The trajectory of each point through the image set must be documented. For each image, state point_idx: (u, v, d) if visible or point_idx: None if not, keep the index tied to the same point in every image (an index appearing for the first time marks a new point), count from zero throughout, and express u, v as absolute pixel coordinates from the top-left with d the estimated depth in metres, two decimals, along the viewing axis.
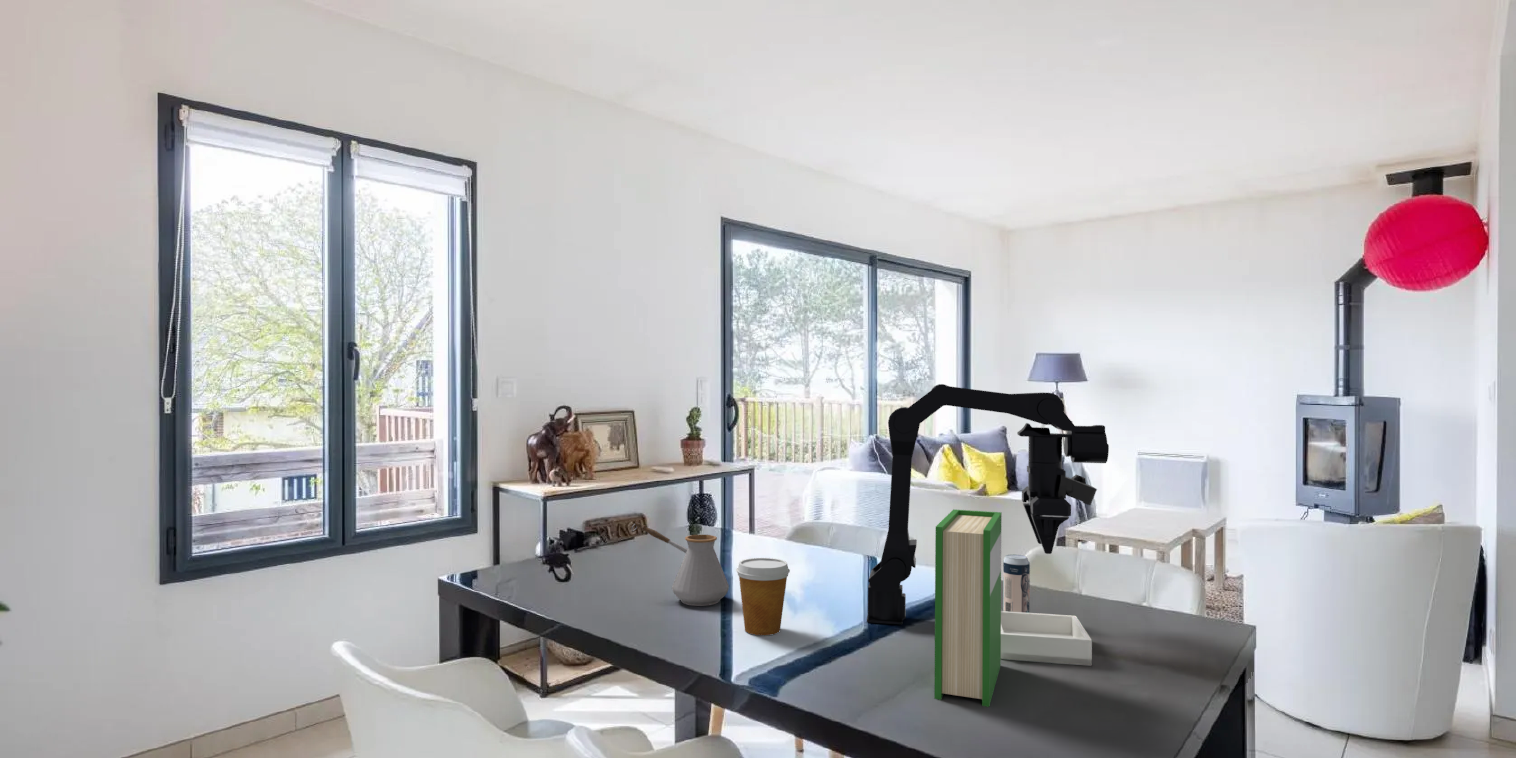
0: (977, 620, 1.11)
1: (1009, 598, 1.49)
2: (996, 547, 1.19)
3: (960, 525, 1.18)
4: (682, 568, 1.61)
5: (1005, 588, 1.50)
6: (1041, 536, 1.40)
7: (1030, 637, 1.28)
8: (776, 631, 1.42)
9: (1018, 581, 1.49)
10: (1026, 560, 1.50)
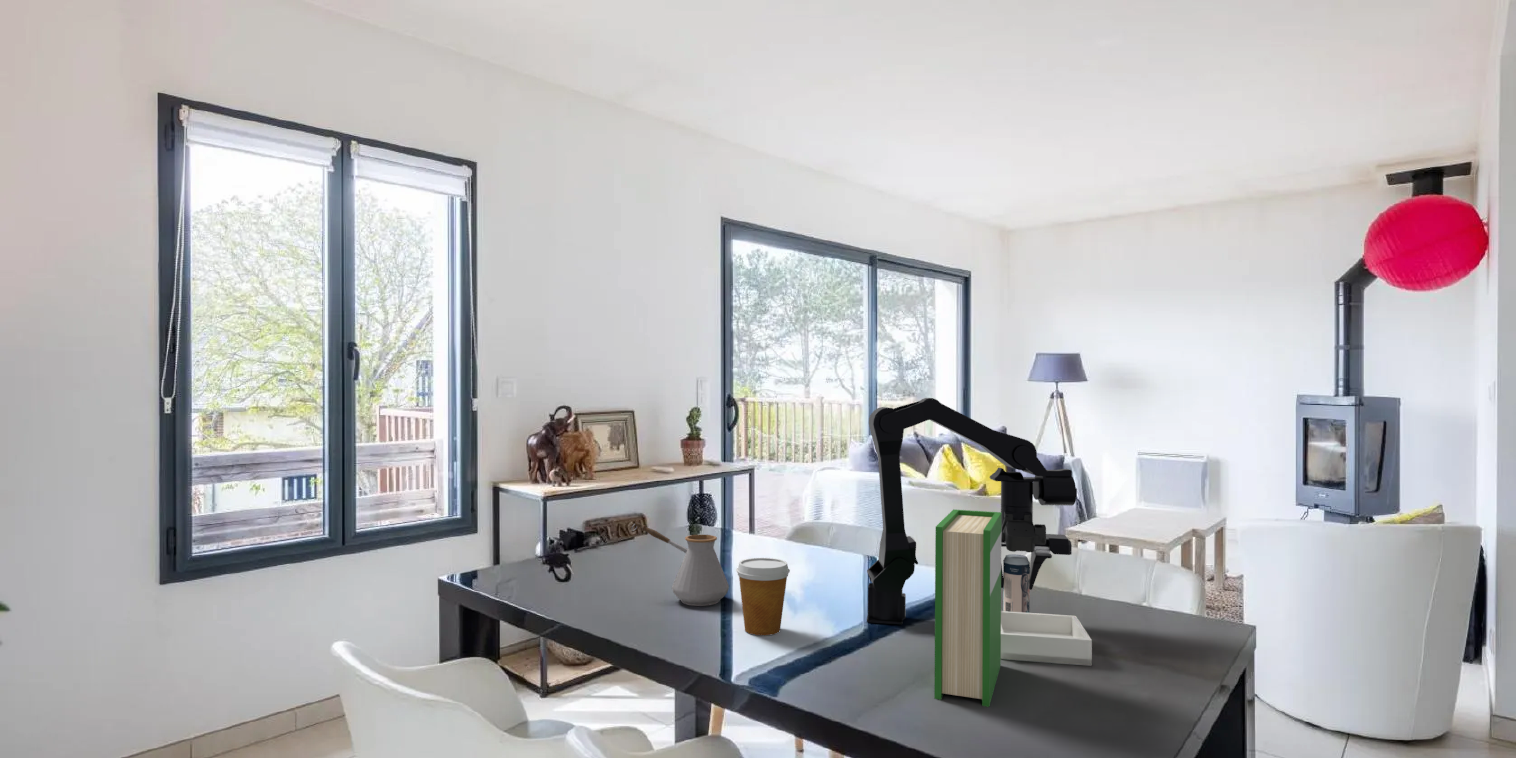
0: (977, 620, 1.11)
1: (1009, 598, 1.49)
2: (996, 547, 1.19)
3: (960, 525, 1.18)
4: (682, 568, 1.61)
5: (1005, 588, 1.50)
6: None
7: (1030, 637, 1.28)
8: (776, 631, 1.42)
9: (1019, 581, 1.49)
10: (1026, 560, 1.50)
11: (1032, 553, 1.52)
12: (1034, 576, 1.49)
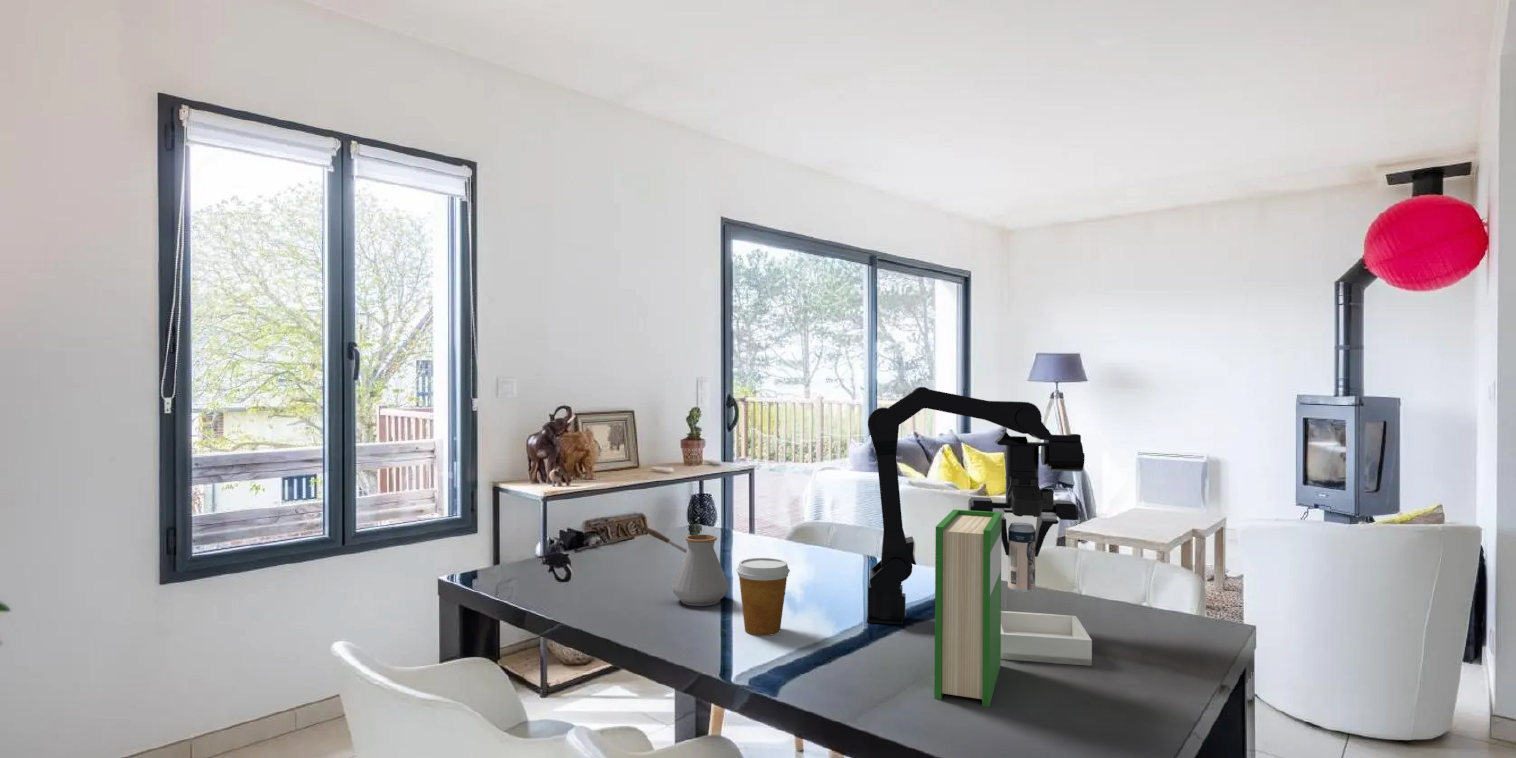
0: (977, 620, 1.11)
1: (1015, 566, 1.46)
2: (996, 547, 1.19)
3: (960, 525, 1.18)
4: (682, 568, 1.61)
5: (1010, 556, 1.47)
6: None
7: (1030, 637, 1.28)
8: (776, 631, 1.42)
9: (1024, 549, 1.45)
10: (1032, 527, 1.46)
11: (1038, 519, 1.48)
12: (1040, 543, 1.46)
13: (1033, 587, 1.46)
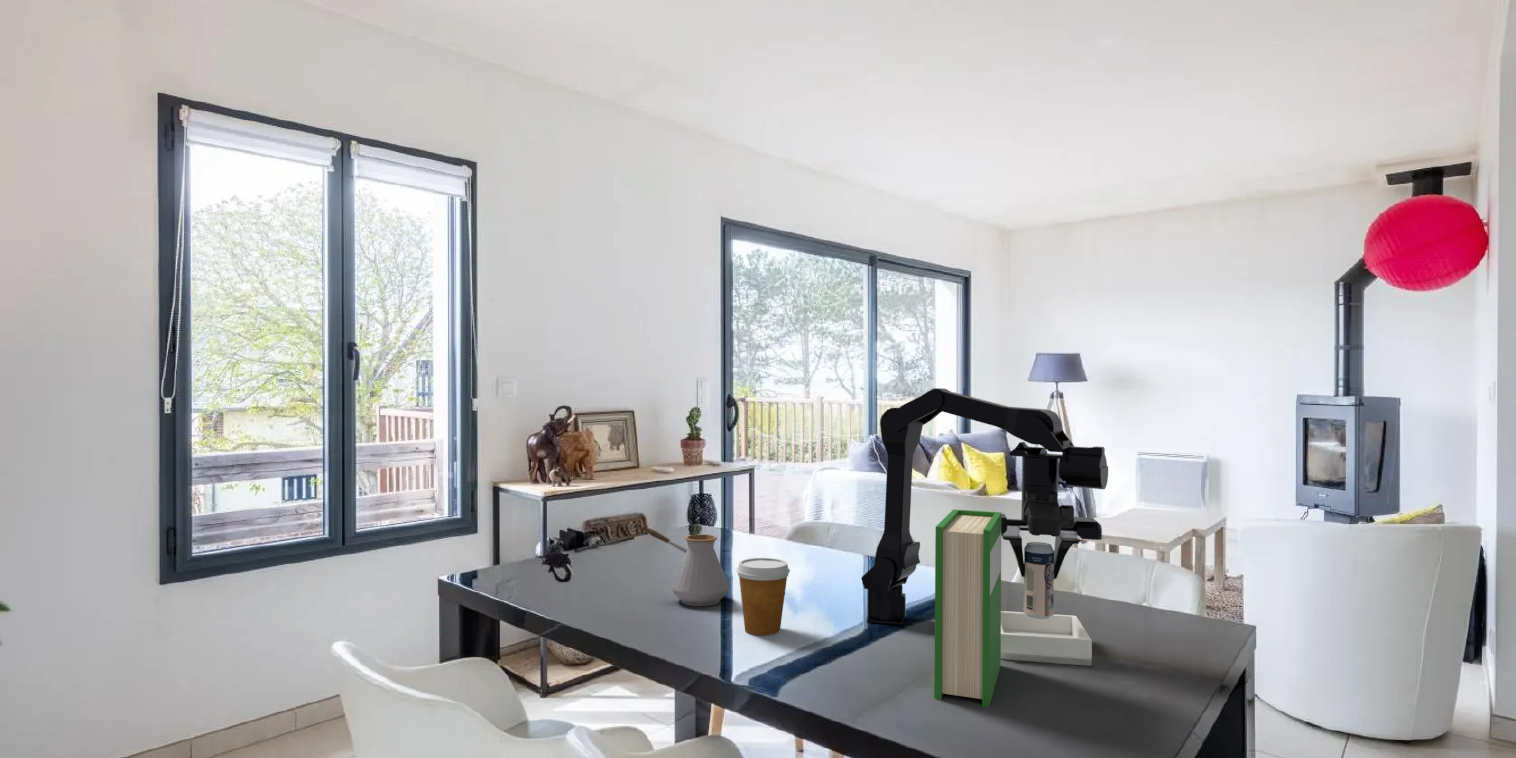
0: (977, 620, 1.11)
1: (1031, 591, 1.33)
2: (996, 547, 1.19)
3: (960, 525, 1.18)
4: (682, 568, 1.61)
5: (1026, 579, 1.34)
6: (1015, 555, 1.37)
7: (1030, 637, 1.28)
8: (776, 631, 1.42)
9: (1042, 571, 1.33)
10: (1050, 548, 1.34)
11: (1057, 538, 1.36)
12: (1059, 564, 1.33)
13: (1051, 613, 1.33)
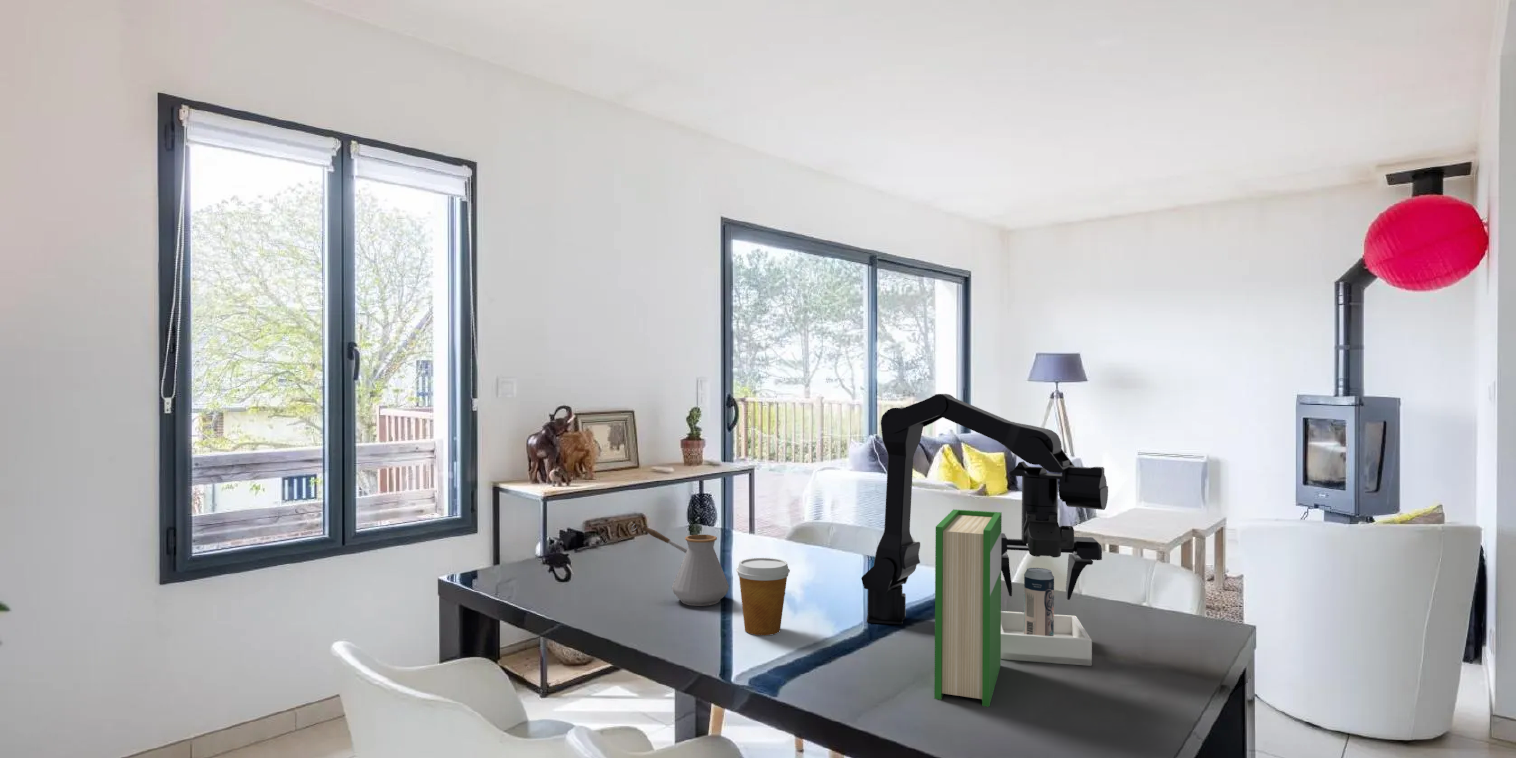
0: (977, 620, 1.11)
1: (1031, 617, 1.33)
2: (996, 547, 1.19)
3: (960, 525, 1.18)
4: (682, 568, 1.61)
5: (1026, 605, 1.34)
6: None
7: (1030, 637, 1.28)
8: (776, 631, 1.42)
9: (1042, 598, 1.33)
10: (1050, 574, 1.34)
11: (1070, 559, 1.35)
12: (1072, 584, 1.33)
13: None
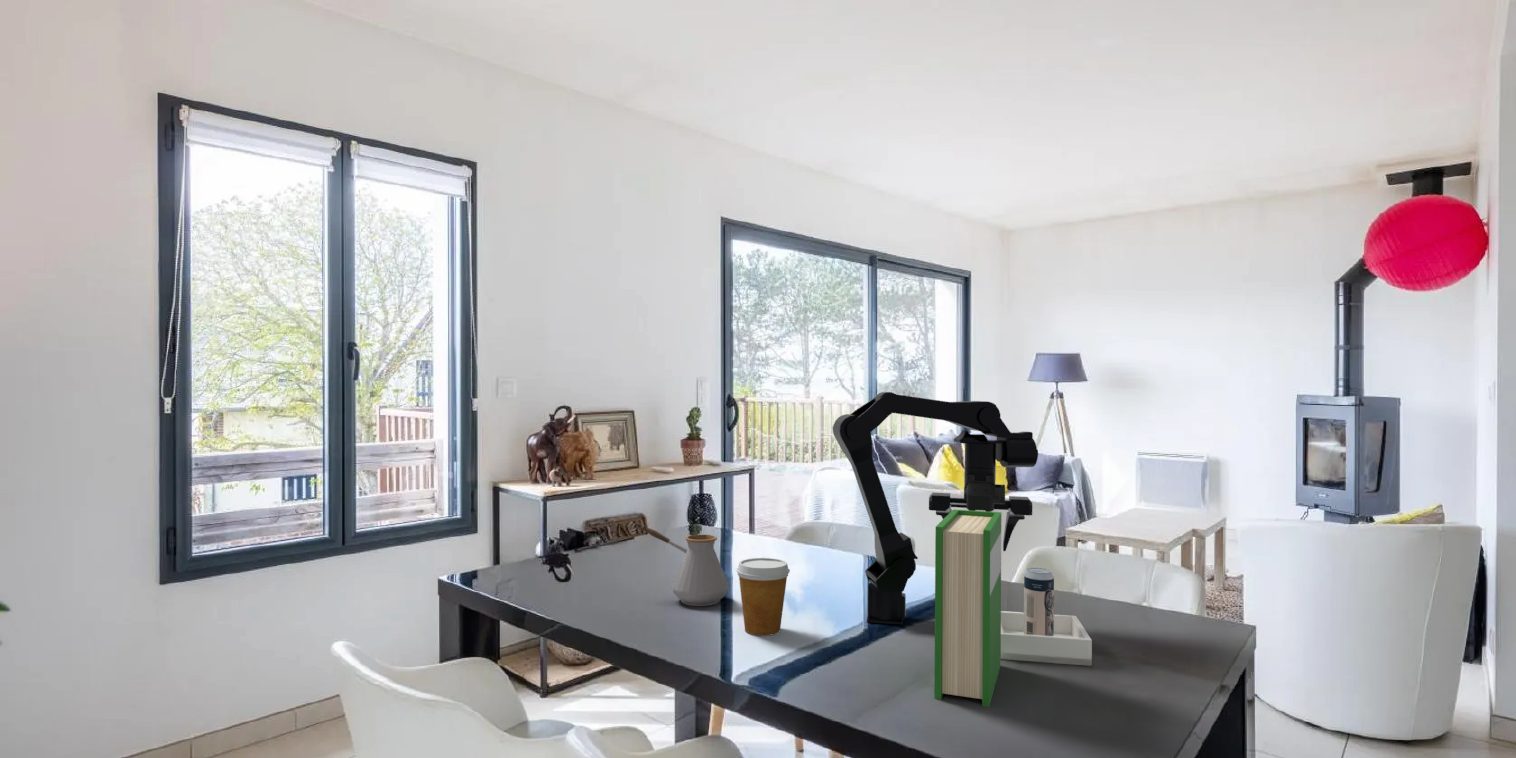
0: (977, 620, 1.11)
1: (1031, 617, 1.33)
2: (996, 547, 1.19)
3: (960, 525, 1.18)
4: (682, 568, 1.61)
5: (1026, 605, 1.34)
6: None
7: (1030, 637, 1.28)
8: (776, 631, 1.42)
9: (1042, 598, 1.33)
10: (1050, 574, 1.34)
11: (1007, 515, 1.53)
12: (1007, 537, 1.51)
13: None
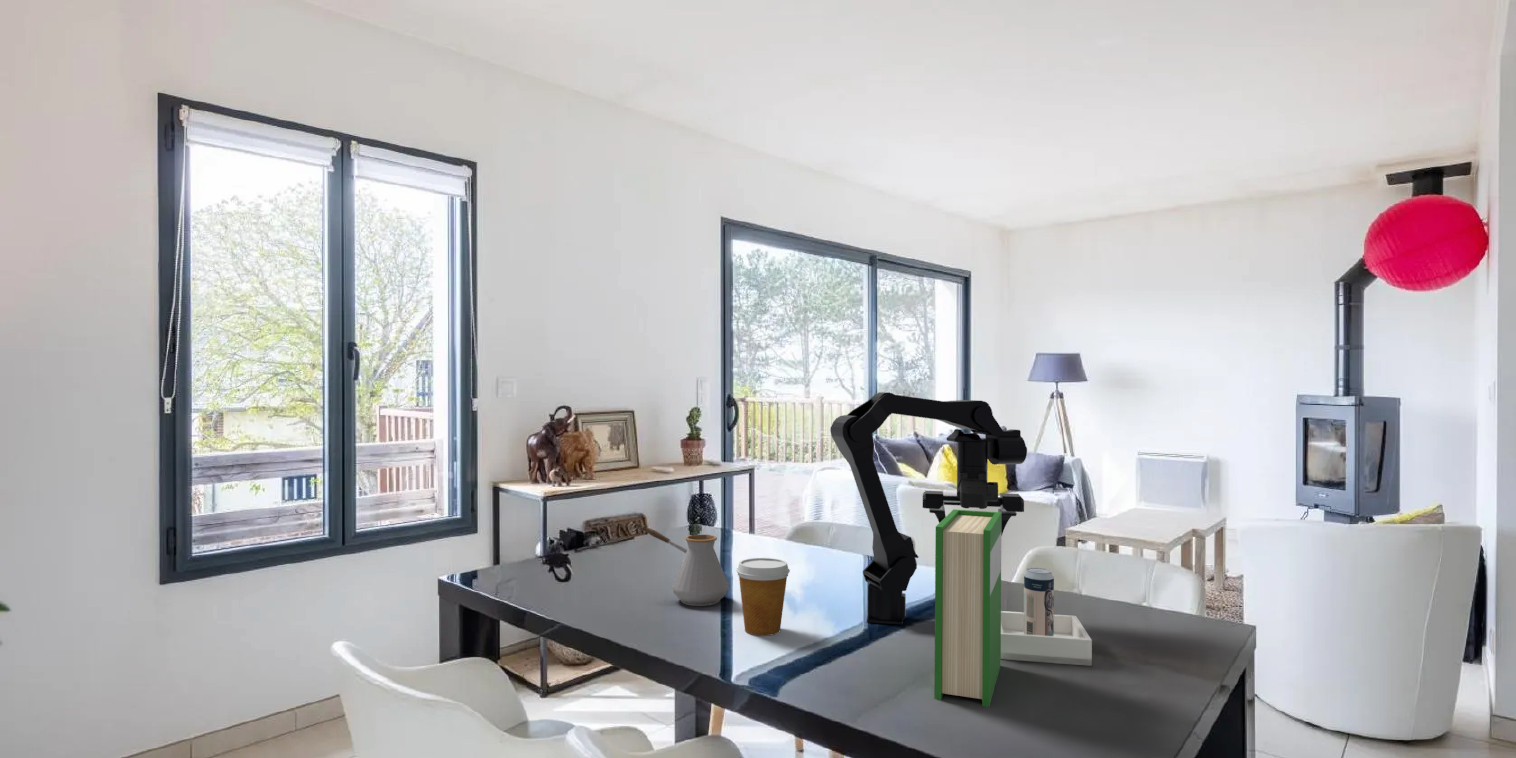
0: (977, 620, 1.11)
1: (1031, 617, 1.33)
2: (996, 547, 1.19)
3: (960, 525, 1.18)
4: (682, 568, 1.61)
5: (1026, 605, 1.34)
6: None
7: (1030, 637, 1.28)
8: (776, 631, 1.42)
9: (1042, 598, 1.33)
10: (1050, 574, 1.34)
11: None
12: None
13: None
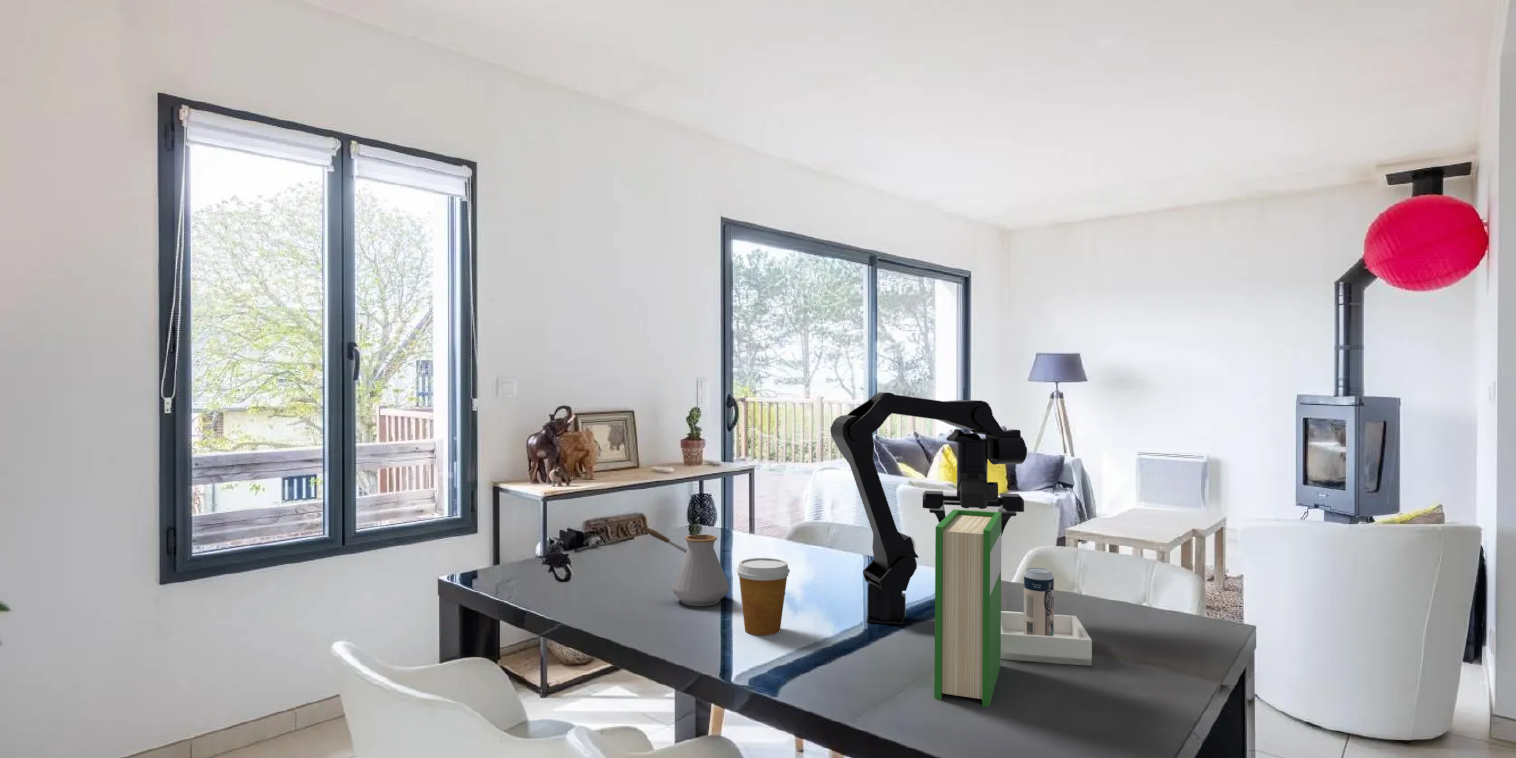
0: (977, 620, 1.11)
1: (1031, 617, 1.33)
2: (996, 547, 1.19)
3: (960, 525, 1.18)
4: (682, 568, 1.61)
5: (1026, 605, 1.34)
6: None
7: (1030, 637, 1.28)
8: (776, 631, 1.42)
9: (1042, 598, 1.33)
10: (1050, 574, 1.34)
11: None
12: None
13: None
